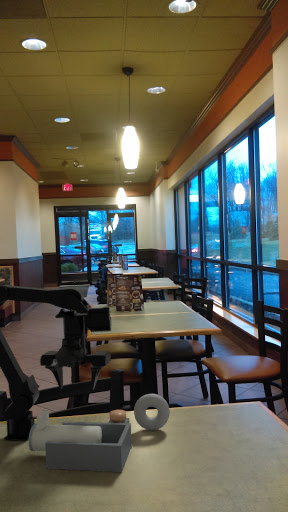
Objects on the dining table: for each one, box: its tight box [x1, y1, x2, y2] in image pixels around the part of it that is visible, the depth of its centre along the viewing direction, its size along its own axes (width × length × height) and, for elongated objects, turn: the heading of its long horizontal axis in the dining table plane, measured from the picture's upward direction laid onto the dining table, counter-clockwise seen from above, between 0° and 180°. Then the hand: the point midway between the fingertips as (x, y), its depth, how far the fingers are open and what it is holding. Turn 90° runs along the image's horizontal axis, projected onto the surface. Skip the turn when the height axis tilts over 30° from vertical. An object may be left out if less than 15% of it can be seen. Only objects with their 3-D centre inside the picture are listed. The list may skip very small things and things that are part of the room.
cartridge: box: [28, 409, 102, 452], centre depth 102 cm, size 17×6×9 cm, turn 81°
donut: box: [133, 393, 171, 432], centre depth 114 cm, size 10×4×10 cm, turn 86°
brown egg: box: [108, 409, 127, 423], centre depth 109 cm, size 4×4×6 cm
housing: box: [45, 417, 133, 473], centre depth 103 cm, size 18×18×6 cm
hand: (77, 389), depth 114 cm, fingers open, 9 cm apart
